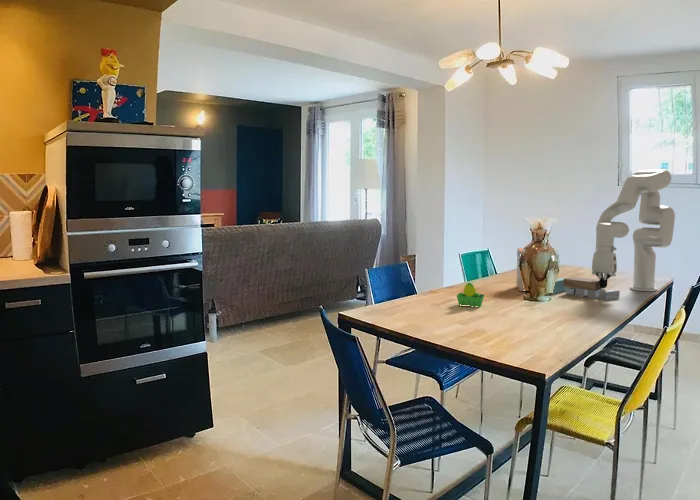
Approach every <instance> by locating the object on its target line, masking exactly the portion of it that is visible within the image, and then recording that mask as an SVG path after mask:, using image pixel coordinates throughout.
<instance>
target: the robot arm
mask: <svg viewBox="0 0 700 500" xmlns="http://www.w3.org/2000/svg"><path fill="white" fill-rule="evenodd" d="M671 182H672V174H671V172H670V171H669V170H666V169H648V170H646V169H645V170H638V171H635V173H634V174H633V175H630V176H627V178H625V181H624V183H623V186H622V188H621V190H620V193H619V194H618V198H617V200H616V201H615V202H613V203H612V204H610V205H609V206H608V207H607V208H606V209H605V210H603V212H602V213H601V215H600V216H599V219H598V221H597V223H596V227H595V228H596V229H595V232H596V233H595V236H596V237H595V251H594V253H593V257H592V261H591V275H594V276H597V279H600V283H599V285H600V288H604V289H605V288H607V287H608V280H609V279H610V278H611V277H613V278H614V277H616V273H617V270H618V268H617V267H618V264H617V263H618V262H617V255H616V254H617V253H616V252H614V251H617V247H616V246H614V244H615V242H614V241H615V239H621V238H625V237H626V236H628V235H629V231H630V228H629V225H628V224H627V223H625V222H622V221H612V220H613V219H614V218H615V217H617V216H618V215H619V216H620V215H621V214H624V213H626V212H630V211H631V210H634V208H635V207H636V206H637V203H638V201H639V199H640V204H639V211H638V212H639V214H638V221H639V222H640V224H641V225H642V224H643V225H649V226H659V227H648V226H647V227H646V226H645V227H643V226H642V227H638V228H636V229H635V230H634V231H633V233H632V240H633V249H634V257H633V277H632V278H633V283H632V285H629V290H633V291H637V292H657V291H658V290H659V289H658V287H657V286H655V284H656V280H655V279H656V252H655V251H654V249H653V248H662V249H663V248H664V249H665V248H667V247H669V246H670V245H671V244H672V241H673V236H674V228H675V220H676V215H675V210H674V209H673V208H672V207H671V206H667V205H661V195H660V192H659V191H660V190H662V189H664V188H667V187H668V186H669V185H670V183H671ZM614 238H615V239H614Z"/></svg>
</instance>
